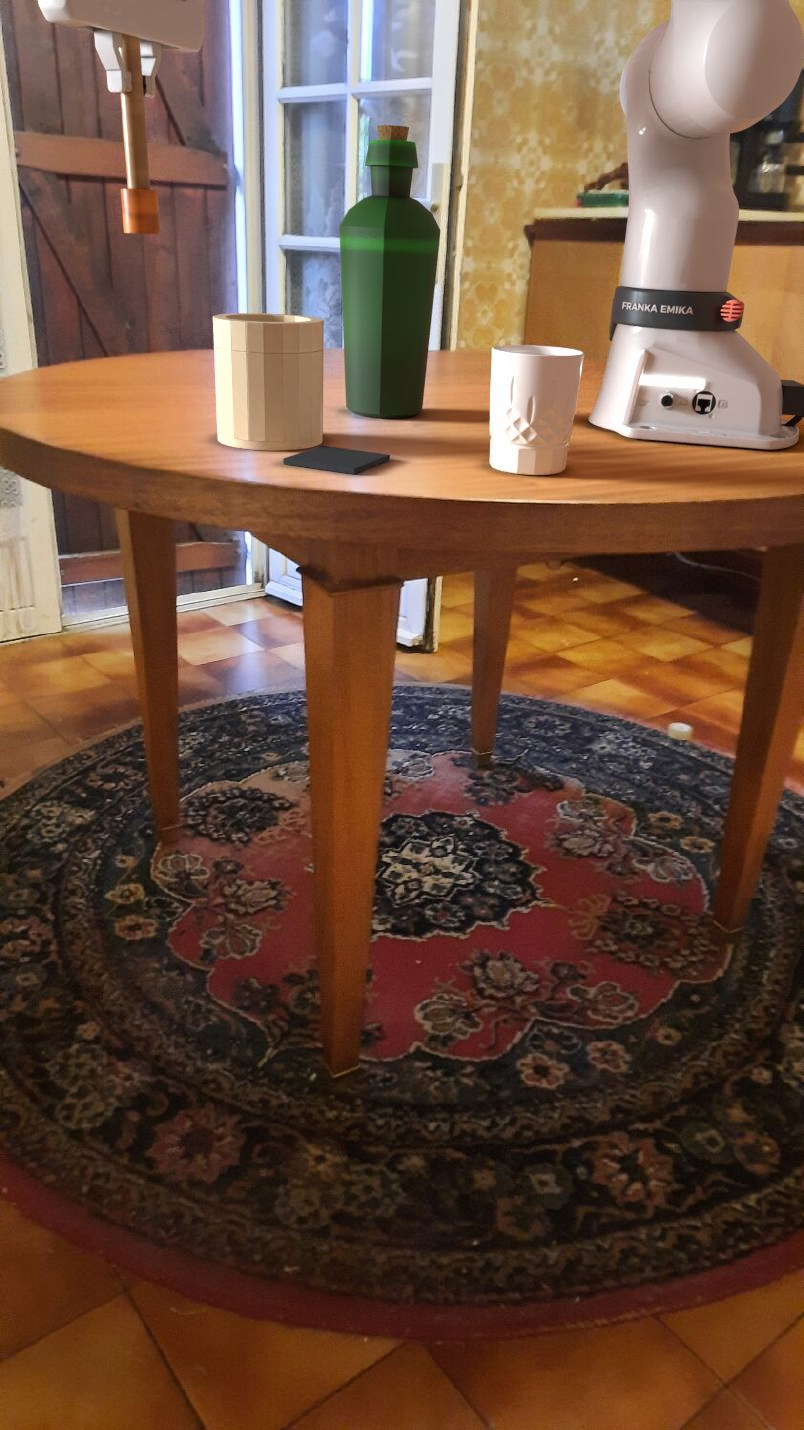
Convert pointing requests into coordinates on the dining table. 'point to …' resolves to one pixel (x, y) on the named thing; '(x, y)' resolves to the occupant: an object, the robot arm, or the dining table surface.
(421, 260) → the bottle
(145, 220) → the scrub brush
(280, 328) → the jar
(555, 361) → the white cup
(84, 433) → the dining table surface
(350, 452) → the mat
